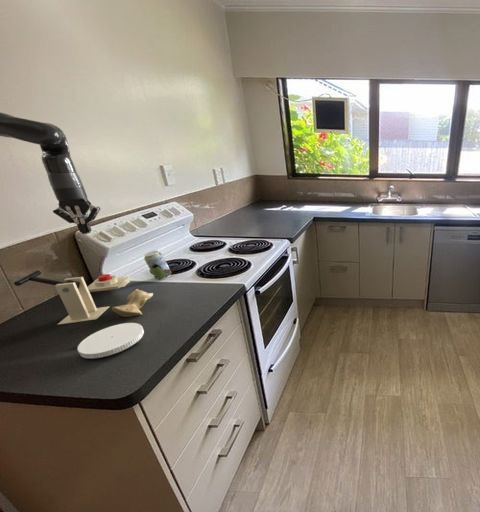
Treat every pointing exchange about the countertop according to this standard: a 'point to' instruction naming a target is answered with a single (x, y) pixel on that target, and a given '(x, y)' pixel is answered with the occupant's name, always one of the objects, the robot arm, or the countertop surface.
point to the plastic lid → (110, 340)
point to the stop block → (108, 284)
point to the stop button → (104, 277)
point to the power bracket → (78, 301)
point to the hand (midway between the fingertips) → (86, 233)
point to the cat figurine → (133, 304)
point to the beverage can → (157, 265)
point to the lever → (40, 280)
